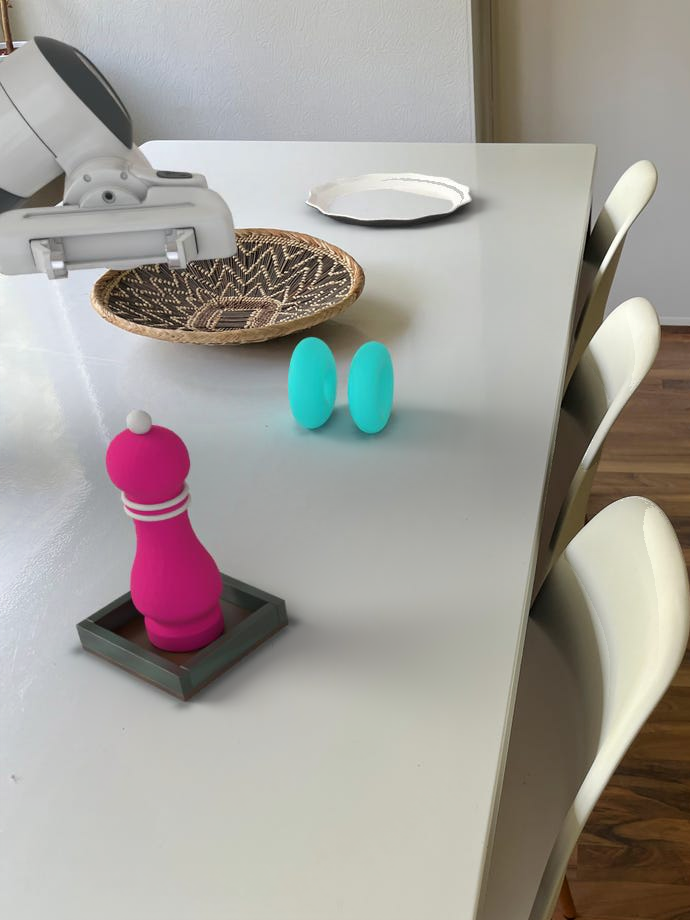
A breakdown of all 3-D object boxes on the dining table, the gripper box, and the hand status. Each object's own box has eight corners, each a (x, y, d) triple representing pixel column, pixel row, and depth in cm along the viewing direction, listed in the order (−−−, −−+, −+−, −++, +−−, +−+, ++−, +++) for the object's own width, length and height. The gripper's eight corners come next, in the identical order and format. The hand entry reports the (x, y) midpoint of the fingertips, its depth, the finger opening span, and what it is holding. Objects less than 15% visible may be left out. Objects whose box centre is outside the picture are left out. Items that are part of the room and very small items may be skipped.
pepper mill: (173, 597, 90) (123, 383, 77) (246, 613, 88) (206, 397, 75) (125, 646, 84) (62, 424, 72) (201, 664, 82) (151, 440, 70)
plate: (499, 198, 189) (499, 184, 188) (419, 243, 169) (418, 228, 167) (365, 178, 200) (365, 165, 198) (275, 218, 180) (273, 204, 178)
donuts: (316, 404, 122) (307, 322, 116) (398, 410, 120) (393, 328, 114) (290, 443, 114) (279, 358, 108) (377, 450, 113) (371, 364, 107)
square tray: (84, 653, 85) (75, 624, 83) (190, 583, 93) (184, 556, 91) (186, 706, 80) (178, 677, 78) (289, 628, 88) (285, 599, 86)
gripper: (-18, 187, 89) (-33, 234, 79) (221, 172, 94) (236, 214, 83) (3, 260, 93) (-9, 315, 82) (231, 242, 98) (247, 291, 87)
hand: (116, 264), depth 83 cm, fingers open, 8 cm apart
